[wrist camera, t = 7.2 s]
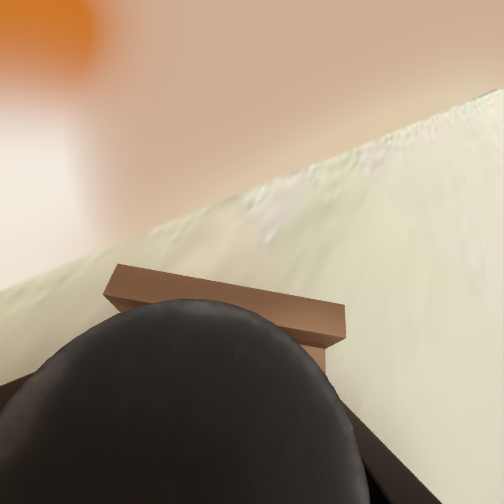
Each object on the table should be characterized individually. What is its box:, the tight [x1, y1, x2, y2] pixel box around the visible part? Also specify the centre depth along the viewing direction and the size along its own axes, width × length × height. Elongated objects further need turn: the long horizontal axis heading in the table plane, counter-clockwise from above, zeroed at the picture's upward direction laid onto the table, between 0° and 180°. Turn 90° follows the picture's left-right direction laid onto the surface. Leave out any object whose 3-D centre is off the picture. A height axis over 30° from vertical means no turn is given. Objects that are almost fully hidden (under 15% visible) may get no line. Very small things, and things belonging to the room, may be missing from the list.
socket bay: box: [103, 264, 346, 373], centre depth 11 cm, size 10×10×5 cm
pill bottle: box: [0, 299, 370, 504], centre depth 8 cm, size 6×6×11 cm
